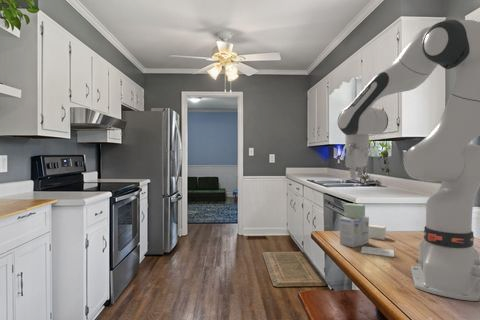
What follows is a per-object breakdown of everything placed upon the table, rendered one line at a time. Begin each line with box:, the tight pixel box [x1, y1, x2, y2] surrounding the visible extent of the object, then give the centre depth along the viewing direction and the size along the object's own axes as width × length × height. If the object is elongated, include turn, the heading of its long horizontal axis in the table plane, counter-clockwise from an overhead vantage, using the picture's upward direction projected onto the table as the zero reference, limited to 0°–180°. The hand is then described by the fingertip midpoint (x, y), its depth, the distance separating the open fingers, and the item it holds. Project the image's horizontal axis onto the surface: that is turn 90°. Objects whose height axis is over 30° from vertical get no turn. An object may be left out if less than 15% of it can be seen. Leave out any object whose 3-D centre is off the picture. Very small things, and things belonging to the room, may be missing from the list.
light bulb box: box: [339, 215, 370, 249], centre depth 126 cm, size 11×7×11 cm, turn 127°
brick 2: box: [369, 223, 387, 240], centre depth 136 cm, size 4×7×5 cm, turn 55°
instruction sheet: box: [360, 245, 395, 258], centre depth 116 cm, size 8×11×1 cm
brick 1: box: [343, 202, 366, 219], centre depth 126 cm, size 4×7×5 cm, turn 54°
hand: (356, 178), depth 127 cm, fingers open, 8 cm apart
